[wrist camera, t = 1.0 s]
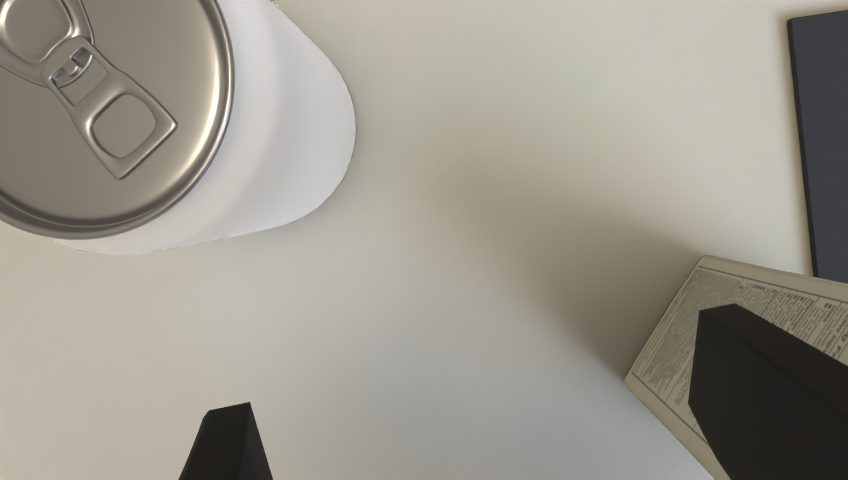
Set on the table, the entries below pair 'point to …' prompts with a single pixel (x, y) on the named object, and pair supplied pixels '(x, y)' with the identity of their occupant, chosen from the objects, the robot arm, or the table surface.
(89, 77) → the can
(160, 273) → the table surface
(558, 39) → the table surface
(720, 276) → the box
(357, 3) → the table surface
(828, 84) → the mat
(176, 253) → the table surface
